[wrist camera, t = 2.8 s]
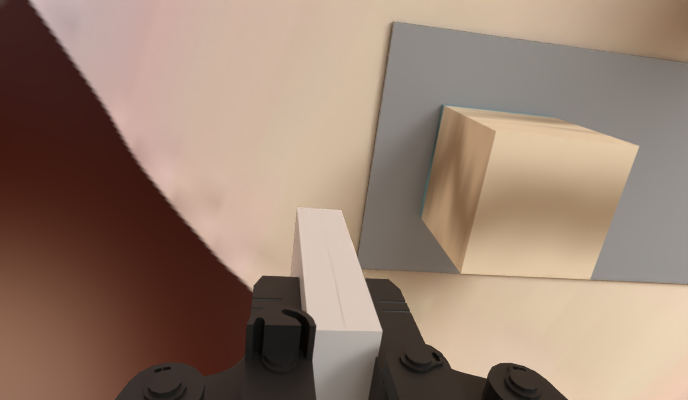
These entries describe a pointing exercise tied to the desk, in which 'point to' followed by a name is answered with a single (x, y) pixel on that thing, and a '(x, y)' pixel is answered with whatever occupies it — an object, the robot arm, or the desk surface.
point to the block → (522, 192)
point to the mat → (538, 99)
